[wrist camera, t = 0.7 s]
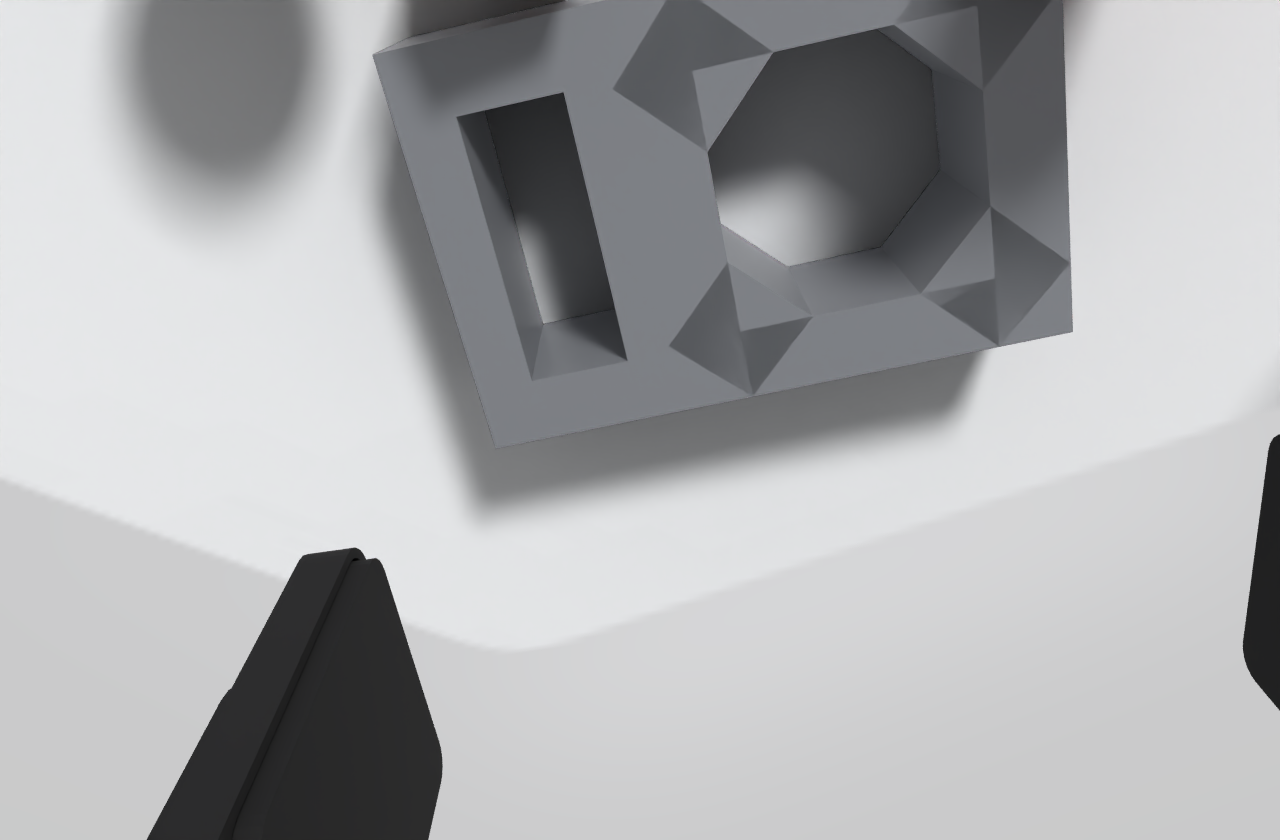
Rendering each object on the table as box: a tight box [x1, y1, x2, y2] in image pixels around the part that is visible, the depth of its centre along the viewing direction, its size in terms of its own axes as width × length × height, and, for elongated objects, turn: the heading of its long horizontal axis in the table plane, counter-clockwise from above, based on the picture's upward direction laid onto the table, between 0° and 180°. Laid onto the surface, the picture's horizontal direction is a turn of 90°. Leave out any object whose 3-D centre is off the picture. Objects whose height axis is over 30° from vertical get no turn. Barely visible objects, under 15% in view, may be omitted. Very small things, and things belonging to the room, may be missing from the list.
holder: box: [373, 0, 1073, 449], centre depth 31 cm, size 18×12×5 cm, turn 102°
